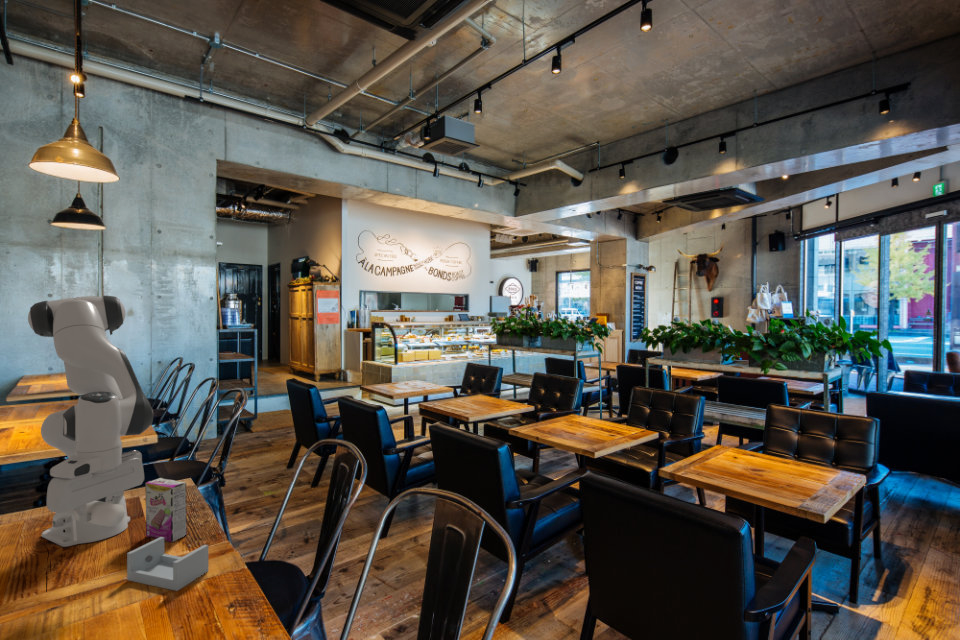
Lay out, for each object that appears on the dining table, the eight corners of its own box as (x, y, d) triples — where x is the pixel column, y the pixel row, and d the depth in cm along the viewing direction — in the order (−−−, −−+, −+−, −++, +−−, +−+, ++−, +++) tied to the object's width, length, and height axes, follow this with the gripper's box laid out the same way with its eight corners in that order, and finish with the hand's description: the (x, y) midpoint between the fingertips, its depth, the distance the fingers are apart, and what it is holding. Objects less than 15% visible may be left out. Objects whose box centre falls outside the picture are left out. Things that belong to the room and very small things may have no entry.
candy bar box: (144, 537, 140) (144, 482, 140) (160, 530, 145) (160, 477, 145) (171, 543, 136) (171, 487, 136) (187, 535, 141) (187, 481, 141)
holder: (127, 580, 117) (127, 553, 117) (161, 562, 126) (160, 536, 126) (177, 590, 113) (176, 562, 113) (208, 571, 122) (208, 545, 122)
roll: (73, 524, 114) (73, 504, 114) (96, 516, 119) (95, 496, 119) (103, 530, 111) (103, 509, 111) (125, 521, 116) (125, 501, 116)
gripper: (132, 447, 125) (132, 498, 126) (41, 471, 106) (42, 532, 106) (150, 449, 124) (150, 501, 124) (61, 474, 104) (61, 536, 104)
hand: (99, 516), depth 115 cm, fingers closed on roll, 5 cm apart
